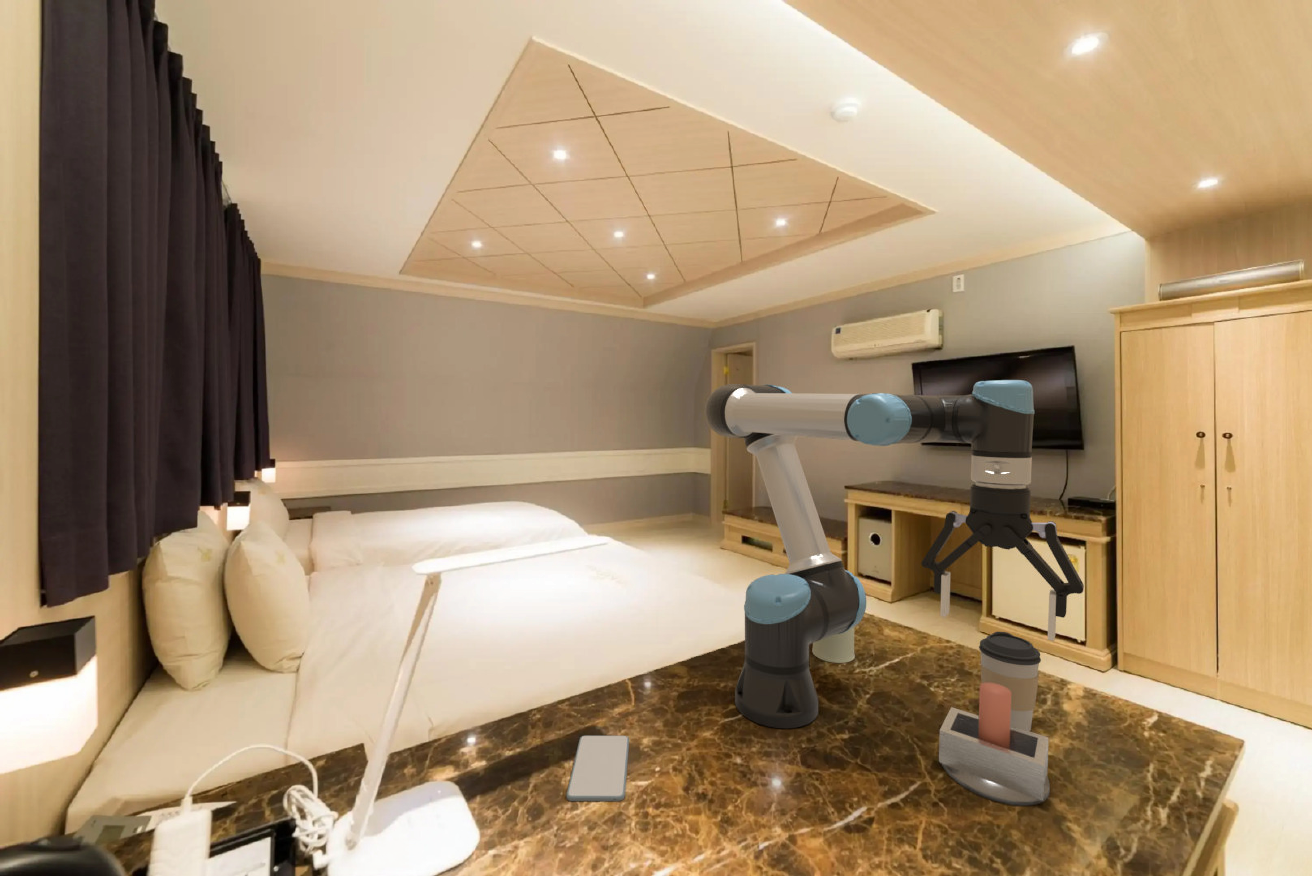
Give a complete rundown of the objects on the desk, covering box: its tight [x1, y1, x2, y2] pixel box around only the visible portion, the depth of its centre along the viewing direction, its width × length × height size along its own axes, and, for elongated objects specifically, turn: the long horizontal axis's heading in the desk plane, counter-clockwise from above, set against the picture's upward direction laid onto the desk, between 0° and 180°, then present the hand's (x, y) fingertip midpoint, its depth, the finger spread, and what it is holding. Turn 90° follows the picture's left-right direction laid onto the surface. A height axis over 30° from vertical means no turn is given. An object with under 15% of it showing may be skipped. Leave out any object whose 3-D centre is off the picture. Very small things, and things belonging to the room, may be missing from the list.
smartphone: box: [566, 735, 630, 802], centre depth 83 cm, size 8×1×15 cm
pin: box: [978, 683, 1011, 750], centre depth 81 cm, size 4×4×12 cm
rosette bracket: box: [938, 707, 1051, 807], centre depth 81 cm, size 14×14×6 cm
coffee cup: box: [978, 631, 1042, 732], centre depth 94 cm, size 9×9×15 cm
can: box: [811, 626, 856, 664], centre depth 121 cm, size 9×9×12 cm
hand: (995, 625), depth 80 cm, fingers open, 13 cm apart
